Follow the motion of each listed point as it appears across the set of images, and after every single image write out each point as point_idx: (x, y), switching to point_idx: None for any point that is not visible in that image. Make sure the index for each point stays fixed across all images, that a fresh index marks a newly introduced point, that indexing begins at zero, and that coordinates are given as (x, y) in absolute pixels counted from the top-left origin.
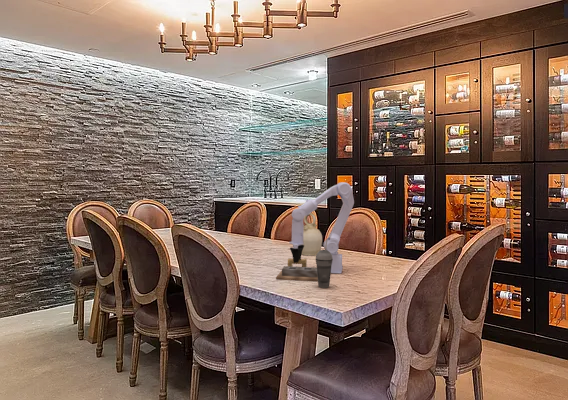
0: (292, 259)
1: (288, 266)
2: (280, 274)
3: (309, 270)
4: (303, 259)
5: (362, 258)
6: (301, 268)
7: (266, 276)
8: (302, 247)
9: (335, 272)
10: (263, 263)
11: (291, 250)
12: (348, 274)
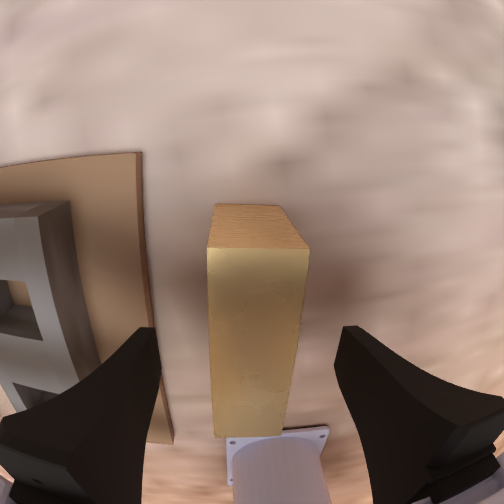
0: (220, 316)
1: (42, 264)
2: (3, 186)
3: (13, 406)
4: (250, 418)
5: (496, 442)
6: (28, 372)
7: (7, 75)
8: (378, 502)
9: (227, 473)
10: (496, 10)
11: (16, 425)
12: (223, 492)
